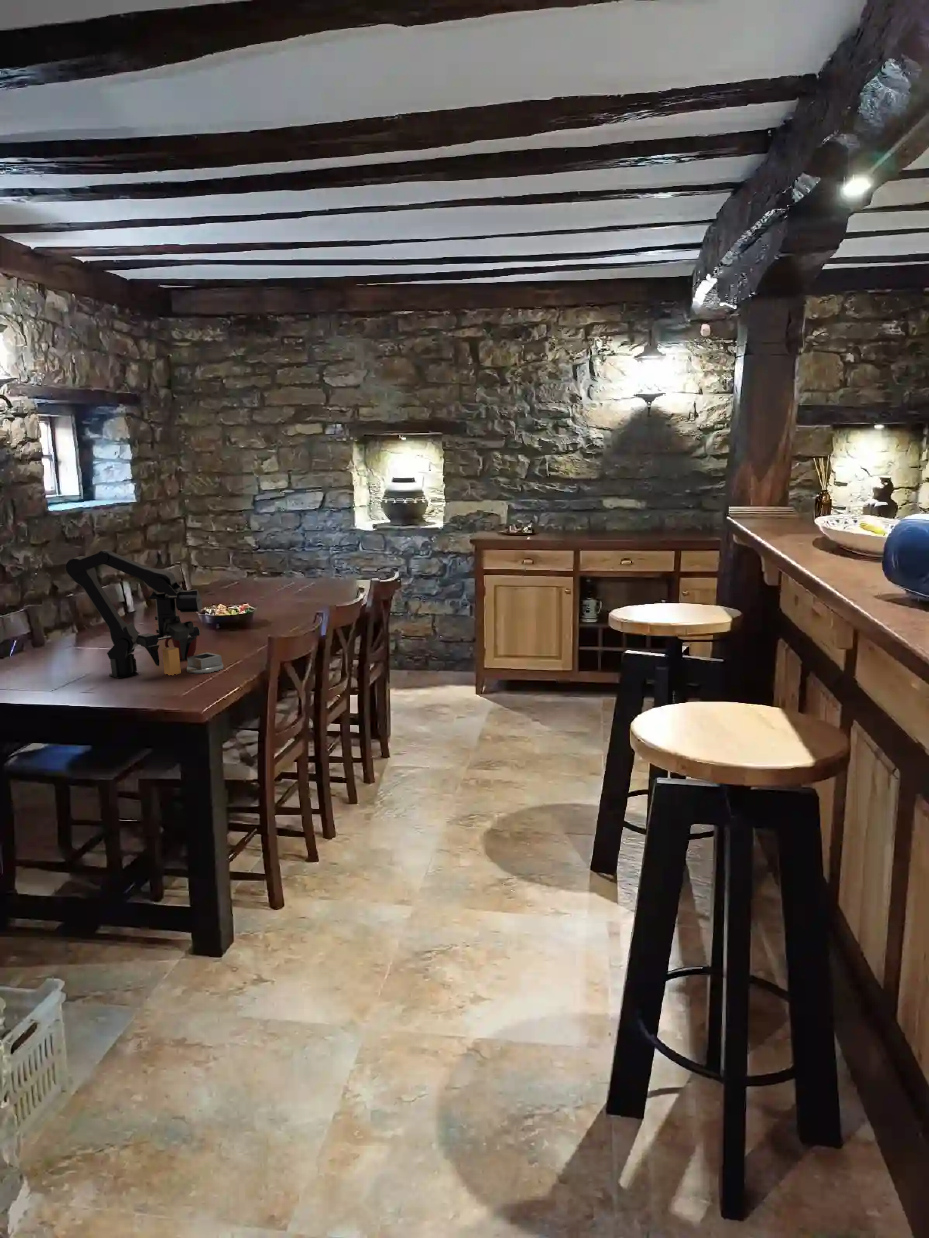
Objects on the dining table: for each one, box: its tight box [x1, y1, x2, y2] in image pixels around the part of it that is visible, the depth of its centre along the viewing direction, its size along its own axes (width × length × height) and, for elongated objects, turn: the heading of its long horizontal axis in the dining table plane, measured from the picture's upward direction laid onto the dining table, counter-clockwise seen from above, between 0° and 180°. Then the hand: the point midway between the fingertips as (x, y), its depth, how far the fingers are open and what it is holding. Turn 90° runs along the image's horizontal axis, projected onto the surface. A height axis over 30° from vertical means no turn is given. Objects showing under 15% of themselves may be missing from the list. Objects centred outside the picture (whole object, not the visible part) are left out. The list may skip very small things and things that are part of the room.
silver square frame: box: [186, 652, 224, 675], centre depth 278 cm, size 11×11×4 cm
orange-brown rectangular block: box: [161, 646, 182, 676], centre depth 274 cm, size 4×4×8 cm
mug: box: [164, 636, 198, 660], centre depth 293 cm, size 11×8×10 cm
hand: (171, 662), depth 274 cm, fingers open, 9 cm apart
